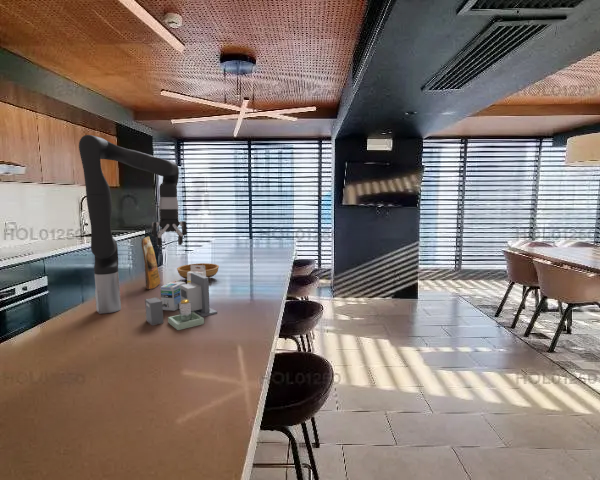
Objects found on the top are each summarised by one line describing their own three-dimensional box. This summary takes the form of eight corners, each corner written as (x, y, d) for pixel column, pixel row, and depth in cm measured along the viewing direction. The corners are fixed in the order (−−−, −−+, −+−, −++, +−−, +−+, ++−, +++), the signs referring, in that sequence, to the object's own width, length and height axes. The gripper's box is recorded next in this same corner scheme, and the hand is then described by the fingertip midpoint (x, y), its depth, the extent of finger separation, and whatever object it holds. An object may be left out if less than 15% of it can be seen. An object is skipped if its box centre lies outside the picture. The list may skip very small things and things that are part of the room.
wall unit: (191, 319, 145) (189, 281, 143) (177, 309, 158) (175, 274, 156) (217, 313, 153) (215, 277, 151) (201, 304, 165) (200, 270, 163)
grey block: (151, 325, 139) (150, 303, 138) (146, 320, 144) (145, 299, 143) (163, 322, 142) (162, 301, 141) (157, 318, 147) (156, 297, 146)
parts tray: (177, 330, 134) (177, 324, 133) (168, 322, 142) (167, 317, 141) (204, 323, 140) (203, 318, 140) (193, 316, 148) (193, 311, 148)
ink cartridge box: (187, 294, 181) (186, 266, 179) (191, 292, 186) (190, 264, 184) (203, 295, 180) (202, 267, 179) (207, 292, 185) (205, 265, 183)
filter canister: (182, 324, 138) (181, 303, 137) (178, 321, 141) (177, 300, 140) (193, 322, 141) (192, 300, 139) (189, 319, 144) (188, 298, 143)
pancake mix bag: (139, 290, 190) (136, 238, 186) (151, 282, 209) (148, 234, 205) (152, 290, 191) (149, 238, 187) (163, 281, 209) (160, 234, 206)
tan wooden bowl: (180, 275, 225) (180, 263, 224) (219, 273, 230) (219, 261, 229) (174, 287, 196) (173, 273, 195) (219, 284, 201) (218, 271, 200)
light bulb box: (174, 311, 156) (173, 287, 155) (161, 310, 157) (159, 286, 156) (187, 303, 166) (186, 281, 165) (174, 303, 168) (172, 280, 166)
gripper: (182, 207, 158) (183, 243, 160) (148, 207, 149) (150, 245, 151) (188, 208, 152) (189, 245, 154) (154, 208, 143) (155, 248, 145)
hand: (170, 245), depth 152 cm, fingers open, 8 cm apart
